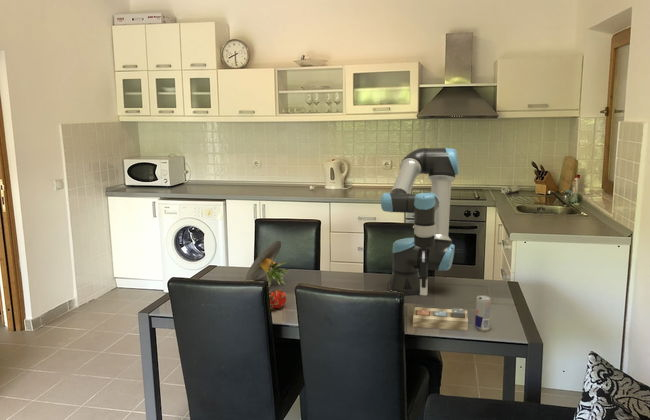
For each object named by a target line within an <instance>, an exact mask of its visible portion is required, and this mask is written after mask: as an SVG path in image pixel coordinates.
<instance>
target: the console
mask: <svg viewBox="0 0 650 420" xmlns="http://www.w3.org/2000/svg"><path fill="white" fill-rule="evenodd" d="M418 310H429V316H422V315H417V311H418ZM435 311H446V312H447V317H437V316H434V313H435ZM412 327H413V328H426V329H429V328H430V329H442V330H443V329H444V330H453V331H454V330H455V331H468V329H469V318H468V310H467V309H464V318H452V308H451V309H449V308H437V307H436V308H433V307H419V306H417V307H416V306H415V307H414V311H413V316H412Z"/></svg>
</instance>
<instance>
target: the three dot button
mask: <svg viewBox="0 0 650 420" xmlns="http://www.w3.org/2000/svg"><path fill="white" fill-rule="evenodd" d="M434 316H437V317H447V312H446V311H435V313H434Z"/></svg>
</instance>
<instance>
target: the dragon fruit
mask: <svg viewBox="0 0 650 420" xmlns="http://www.w3.org/2000/svg"><path fill="white" fill-rule="evenodd" d="M268 293H269V295H270V304H271V308H270V309H272V310H273V309H274V310H276V309H280V310H281V309H283V307H285V304H286V303H287V300H288V298H287V296H286V292H285V291H282V290H281V289H277V290H275V289H274V290H272V291H269V292H268Z"/></svg>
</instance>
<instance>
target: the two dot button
mask: <svg viewBox="0 0 650 420" xmlns="http://www.w3.org/2000/svg"><path fill="white" fill-rule="evenodd" d="M451 309H452V318H464V310H465V308H456V307H455V308H453V307H452V308H451Z"/></svg>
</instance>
